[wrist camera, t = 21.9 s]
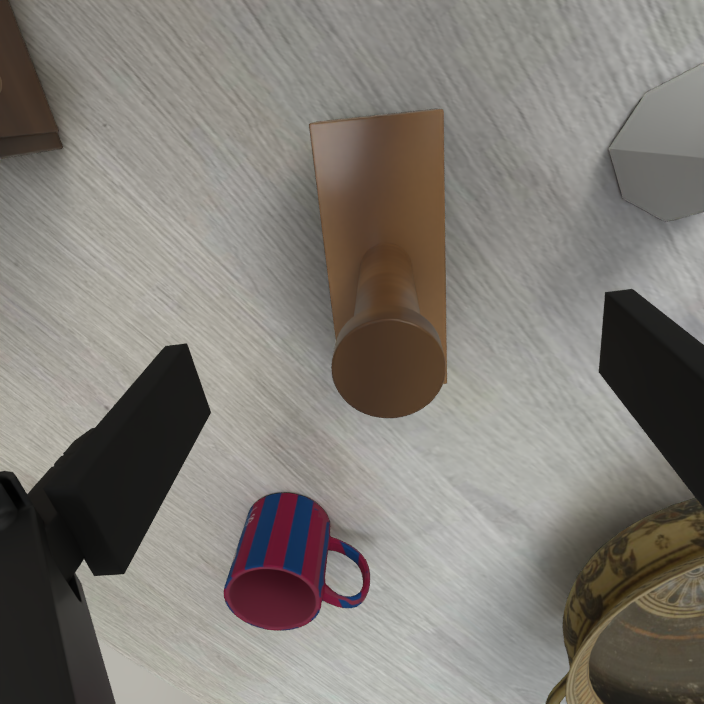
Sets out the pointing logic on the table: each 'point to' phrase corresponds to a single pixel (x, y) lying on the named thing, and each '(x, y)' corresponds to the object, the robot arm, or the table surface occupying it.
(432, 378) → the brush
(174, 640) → the table surface
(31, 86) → the cabinet
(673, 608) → the ceramic bowl
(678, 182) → the flask
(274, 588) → the mug
